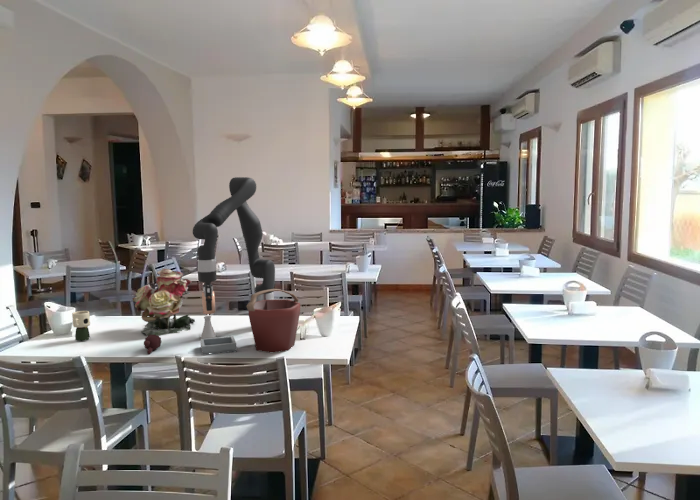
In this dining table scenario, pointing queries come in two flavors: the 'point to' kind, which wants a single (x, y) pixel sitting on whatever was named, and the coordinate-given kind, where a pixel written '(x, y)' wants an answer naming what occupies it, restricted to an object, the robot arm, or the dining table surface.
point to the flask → (208, 329)
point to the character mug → (81, 325)
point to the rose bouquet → (163, 304)
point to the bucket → (274, 322)
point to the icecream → (152, 343)
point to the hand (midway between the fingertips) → (209, 308)
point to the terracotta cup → (205, 304)
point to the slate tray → (218, 345)
